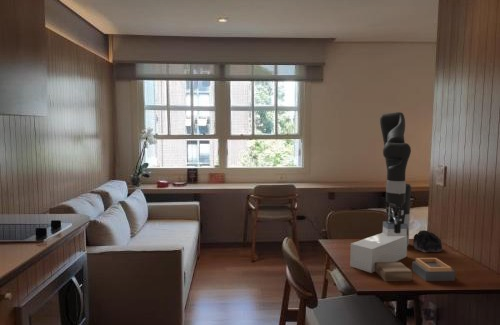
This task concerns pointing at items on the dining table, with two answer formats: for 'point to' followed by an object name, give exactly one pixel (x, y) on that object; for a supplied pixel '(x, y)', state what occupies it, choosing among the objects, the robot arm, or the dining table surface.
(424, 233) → the crystal cluster
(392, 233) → the housing base plate
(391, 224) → the block
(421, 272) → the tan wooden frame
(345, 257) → the dining table surface
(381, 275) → the walnut stand
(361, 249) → the long white block
